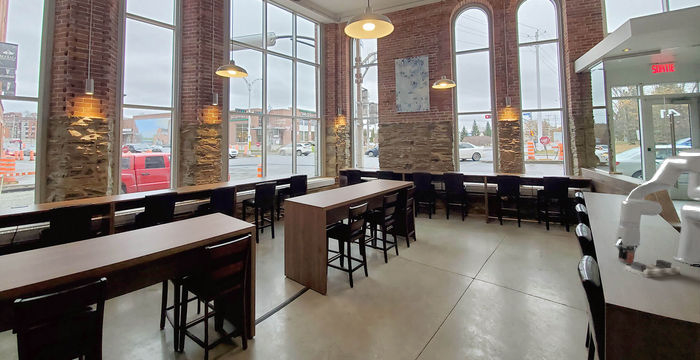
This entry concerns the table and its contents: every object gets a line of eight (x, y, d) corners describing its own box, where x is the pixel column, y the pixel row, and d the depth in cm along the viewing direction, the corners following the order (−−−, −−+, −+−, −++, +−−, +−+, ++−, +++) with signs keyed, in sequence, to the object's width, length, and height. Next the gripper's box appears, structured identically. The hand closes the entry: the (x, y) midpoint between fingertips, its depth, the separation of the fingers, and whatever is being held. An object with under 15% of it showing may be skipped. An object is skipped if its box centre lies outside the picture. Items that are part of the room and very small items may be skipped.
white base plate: (656, 266, 144) (658, 258, 143) (680, 274, 135) (681, 265, 135) (624, 269, 141) (625, 260, 140) (646, 277, 132) (647, 268, 131)
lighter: (635, 265, 144) (637, 246, 143) (627, 265, 145) (629, 246, 144) (623, 259, 152) (625, 241, 151) (616, 259, 153) (618, 241, 152)
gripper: (634, 221, 151) (631, 254, 153) (608, 223, 149) (605, 256, 151) (651, 225, 144) (647, 259, 146) (624, 227, 141) (620, 262, 143)
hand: (626, 257), depth 148 cm, fingers closed on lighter, 4 cm apart
